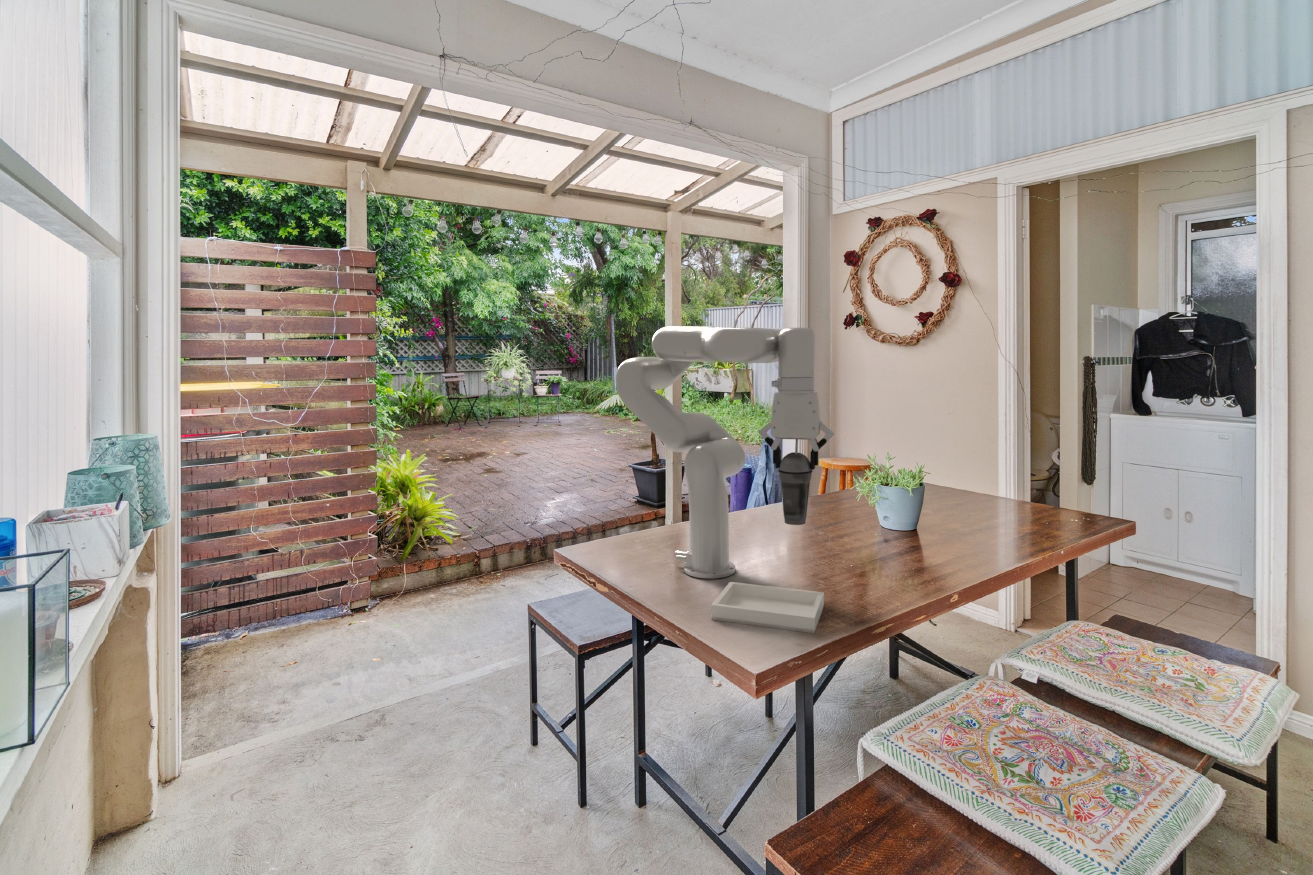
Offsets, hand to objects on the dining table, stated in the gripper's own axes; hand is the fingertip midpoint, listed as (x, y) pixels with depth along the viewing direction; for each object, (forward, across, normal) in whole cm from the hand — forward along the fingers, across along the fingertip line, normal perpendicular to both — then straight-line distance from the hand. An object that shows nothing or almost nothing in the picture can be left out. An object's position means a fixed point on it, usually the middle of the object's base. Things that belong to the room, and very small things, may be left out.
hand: (795, 467), depth 137 cm
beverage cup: (+13, 0, 0) cm, 13 cm away
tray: (+28, -3, -15) cm, 31 cm away
